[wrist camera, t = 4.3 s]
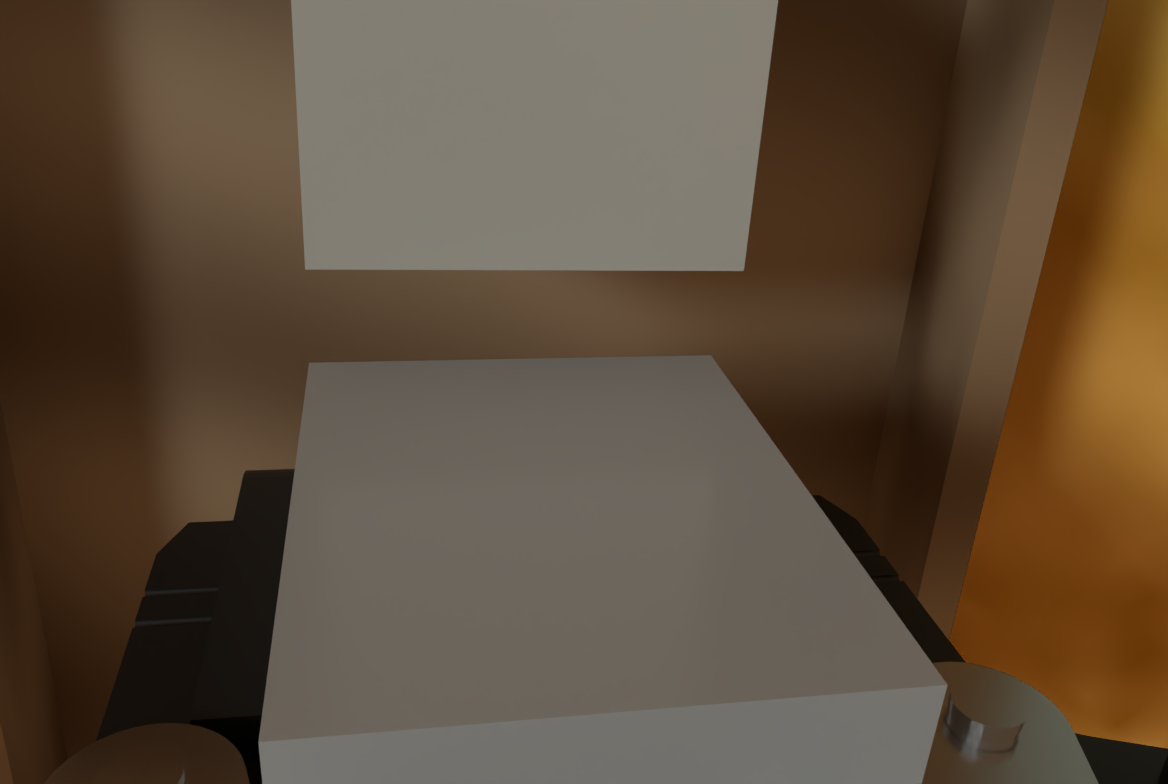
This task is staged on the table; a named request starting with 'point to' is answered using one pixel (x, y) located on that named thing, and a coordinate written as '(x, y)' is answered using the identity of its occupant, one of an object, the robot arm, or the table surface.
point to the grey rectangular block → (529, 132)
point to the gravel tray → (487, 293)
